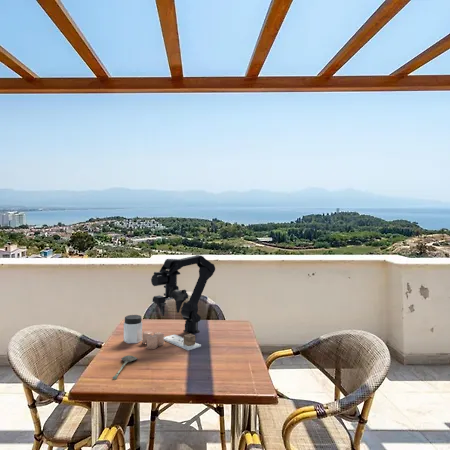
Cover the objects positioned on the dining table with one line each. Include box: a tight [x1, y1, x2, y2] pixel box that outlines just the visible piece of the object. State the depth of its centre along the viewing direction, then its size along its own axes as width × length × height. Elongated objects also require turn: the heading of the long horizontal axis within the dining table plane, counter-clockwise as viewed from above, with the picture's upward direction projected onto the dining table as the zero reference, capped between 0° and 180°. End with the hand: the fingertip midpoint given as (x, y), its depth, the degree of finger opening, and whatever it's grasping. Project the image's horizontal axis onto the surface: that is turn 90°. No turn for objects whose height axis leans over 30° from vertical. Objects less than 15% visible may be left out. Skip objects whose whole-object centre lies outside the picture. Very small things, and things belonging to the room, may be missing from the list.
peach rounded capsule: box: [153, 331, 165, 347], centre depth 184 cm, size 5×5×5 cm
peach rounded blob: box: [146, 334, 159, 350], centre depth 179 cm, size 5×5×5 cm
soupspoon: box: [112, 355, 138, 380], centre depth 155 cm, size 22×3×7 cm
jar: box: [123, 314, 143, 345], centre depth 187 cm, size 9×8×12 cm
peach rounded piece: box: [141, 330, 154, 346], centre depth 185 cm, size 5×5×5 cm
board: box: [164, 333, 202, 351], centre depth 186 cm, size 8×21×1 cm, turn 45°
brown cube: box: [183, 333, 196, 346], centre depth 181 cm, size 4×4×4 cm
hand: (170, 314), depth 193 cm, fingers open, 9 cm apart
